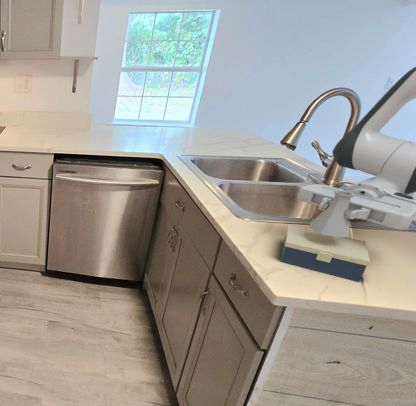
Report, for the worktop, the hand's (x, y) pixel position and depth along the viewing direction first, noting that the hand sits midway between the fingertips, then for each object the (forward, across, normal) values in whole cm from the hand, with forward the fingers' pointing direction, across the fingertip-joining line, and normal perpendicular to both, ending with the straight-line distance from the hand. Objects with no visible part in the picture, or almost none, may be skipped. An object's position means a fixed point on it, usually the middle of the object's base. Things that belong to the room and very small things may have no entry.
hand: (335, 211), depth 84 cm
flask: (-1, 0, +6) cm, 6 cm away
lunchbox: (-1, 0, +14) cm, 14 cm away
